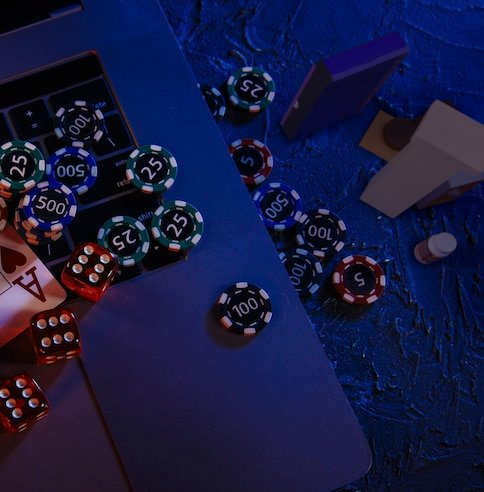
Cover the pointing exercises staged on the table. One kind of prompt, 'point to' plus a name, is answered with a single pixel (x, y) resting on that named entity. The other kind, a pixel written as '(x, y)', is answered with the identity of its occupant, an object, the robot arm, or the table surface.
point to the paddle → (403, 130)
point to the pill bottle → (435, 248)
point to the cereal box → (343, 85)
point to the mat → (378, 138)
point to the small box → (450, 189)
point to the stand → (428, 160)
